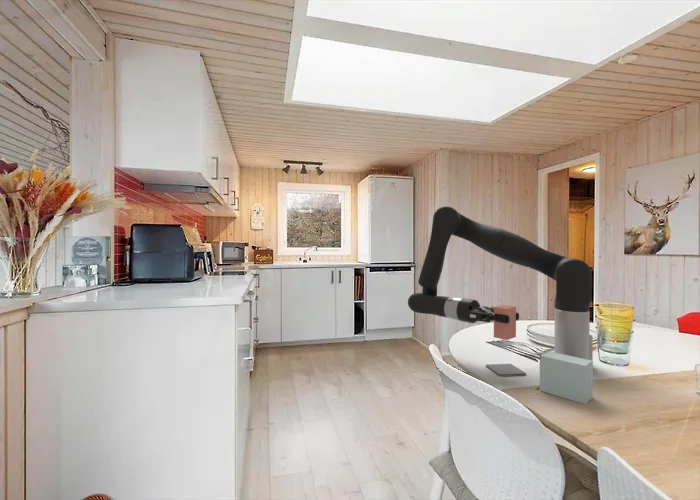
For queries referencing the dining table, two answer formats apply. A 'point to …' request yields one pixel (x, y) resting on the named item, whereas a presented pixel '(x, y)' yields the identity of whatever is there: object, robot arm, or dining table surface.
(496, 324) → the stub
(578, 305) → the robot arm
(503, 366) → the coaster
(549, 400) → the dining table surface
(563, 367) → the pale green block
